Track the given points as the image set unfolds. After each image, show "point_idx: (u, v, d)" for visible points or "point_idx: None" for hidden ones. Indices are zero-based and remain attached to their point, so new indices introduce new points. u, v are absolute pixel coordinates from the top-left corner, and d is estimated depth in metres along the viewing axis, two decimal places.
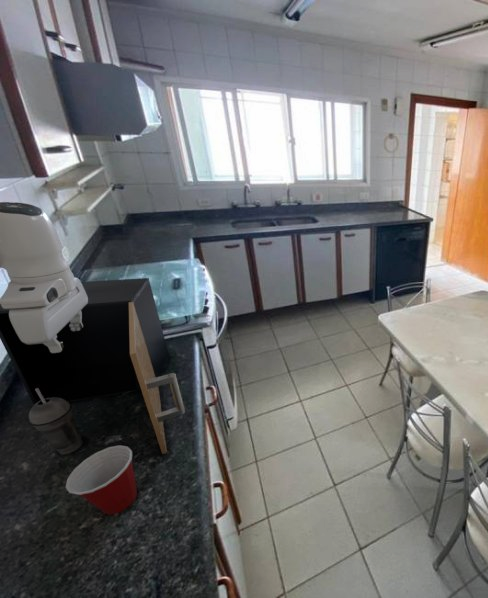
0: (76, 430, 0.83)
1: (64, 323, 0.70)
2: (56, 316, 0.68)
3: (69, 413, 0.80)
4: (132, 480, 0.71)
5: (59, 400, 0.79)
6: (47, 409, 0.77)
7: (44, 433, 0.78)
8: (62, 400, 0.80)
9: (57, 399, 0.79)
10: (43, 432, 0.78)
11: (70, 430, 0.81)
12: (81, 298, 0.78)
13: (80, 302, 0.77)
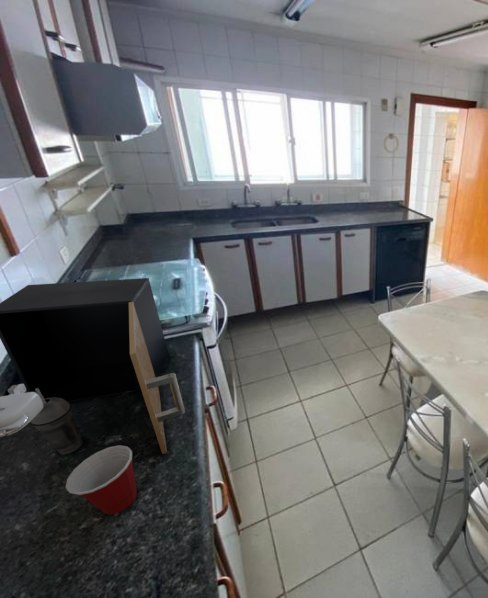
0: (76, 430, 0.83)
1: None
2: None
3: (69, 413, 0.80)
4: (132, 480, 0.71)
5: (59, 400, 0.79)
6: (47, 409, 0.77)
7: (44, 433, 0.78)
8: (62, 400, 0.80)
9: (57, 399, 0.79)
10: (43, 432, 0.78)
11: (70, 430, 0.81)
12: None
13: None
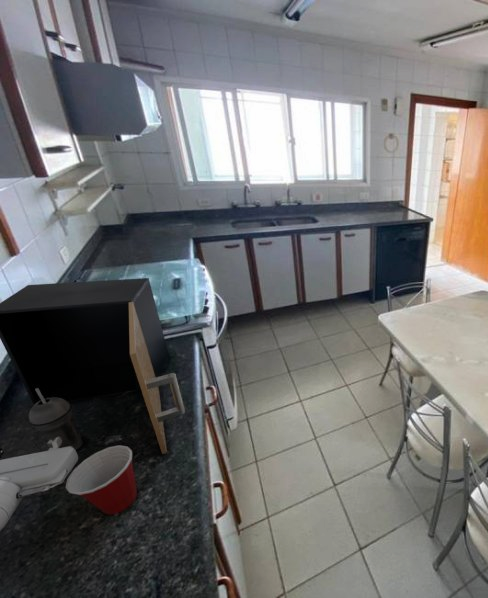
0: (76, 430, 0.83)
1: None
2: None
3: (69, 413, 0.80)
4: (132, 480, 0.71)
5: (59, 400, 0.79)
6: (47, 409, 0.77)
7: (44, 433, 0.78)
8: (62, 400, 0.80)
9: (57, 399, 0.79)
10: (43, 432, 0.78)
11: (70, 430, 0.81)
12: None
13: None
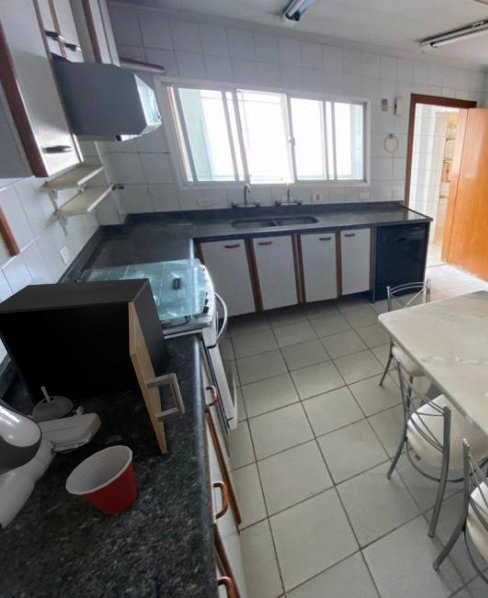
0: None
1: None
2: None
3: None
4: (132, 480, 0.71)
5: (63, 399, 0.80)
6: (51, 407, 0.77)
7: None
8: (66, 399, 0.80)
9: (61, 398, 0.80)
10: None
11: None
12: None
13: None
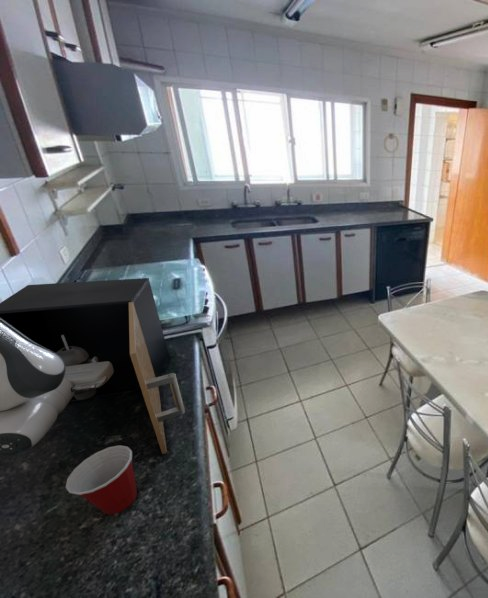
0: None
1: None
2: None
3: None
4: (132, 480, 0.71)
5: (80, 349, 0.89)
6: (70, 355, 0.86)
7: None
8: (82, 349, 0.89)
9: (78, 348, 0.89)
10: None
11: None
12: None
13: None
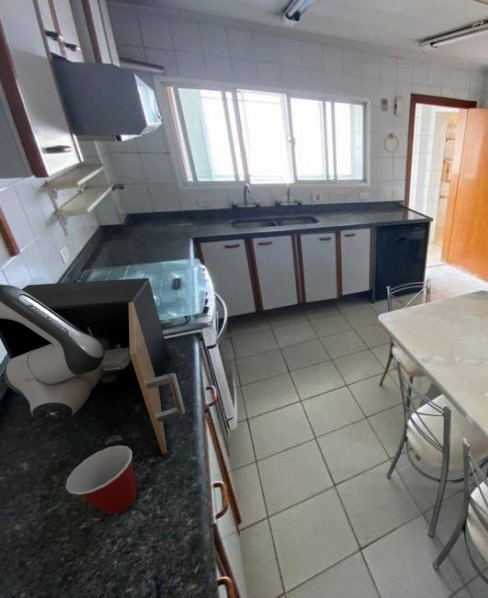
0: None
1: None
2: None
3: None
4: (132, 480, 0.71)
5: (103, 338, 1.02)
6: None
7: None
8: (105, 339, 1.03)
9: (102, 337, 1.02)
10: None
11: None
12: None
13: None
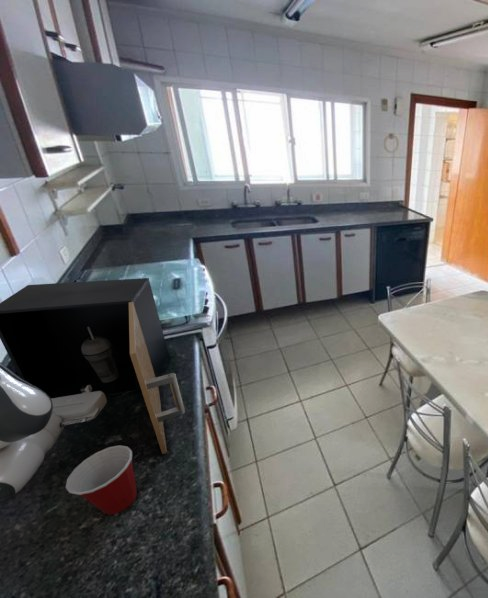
0: (115, 364, 1.06)
1: None
2: None
3: (111, 349, 1.03)
4: (132, 480, 0.71)
5: (103, 338, 1.02)
6: (95, 343, 1.00)
7: (92, 363, 1.01)
8: (105, 339, 1.03)
9: (102, 337, 1.02)
10: (91, 362, 1.01)
11: (111, 363, 1.04)
12: None
13: None
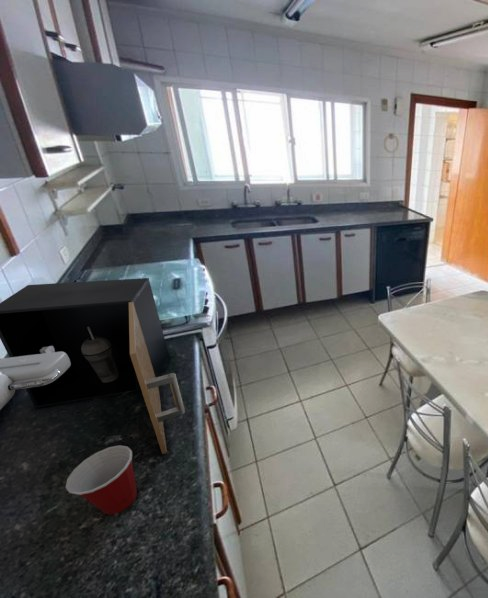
0: (115, 364, 1.06)
1: None
2: None
3: (111, 349, 1.03)
4: (132, 480, 0.71)
5: (103, 338, 1.02)
6: (95, 343, 1.00)
7: (92, 363, 1.01)
8: (105, 339, 1.03)
9: (102, 337, 1.02)
10: (91, 362, 1.01)
11: (111, 363, 1.04)
12: None
13: None
